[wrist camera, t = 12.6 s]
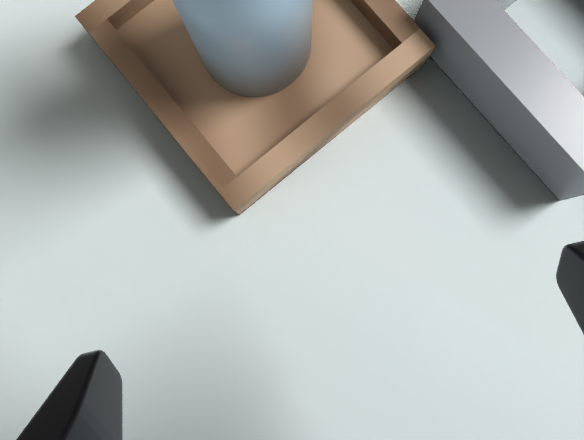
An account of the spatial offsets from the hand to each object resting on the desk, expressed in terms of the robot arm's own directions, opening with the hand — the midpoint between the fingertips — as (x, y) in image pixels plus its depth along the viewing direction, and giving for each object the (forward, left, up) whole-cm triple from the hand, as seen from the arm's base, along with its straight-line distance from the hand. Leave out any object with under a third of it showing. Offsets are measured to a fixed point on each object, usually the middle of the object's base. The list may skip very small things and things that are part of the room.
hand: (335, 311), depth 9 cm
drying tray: (+5, +10, -12) cm, 16 cm away
